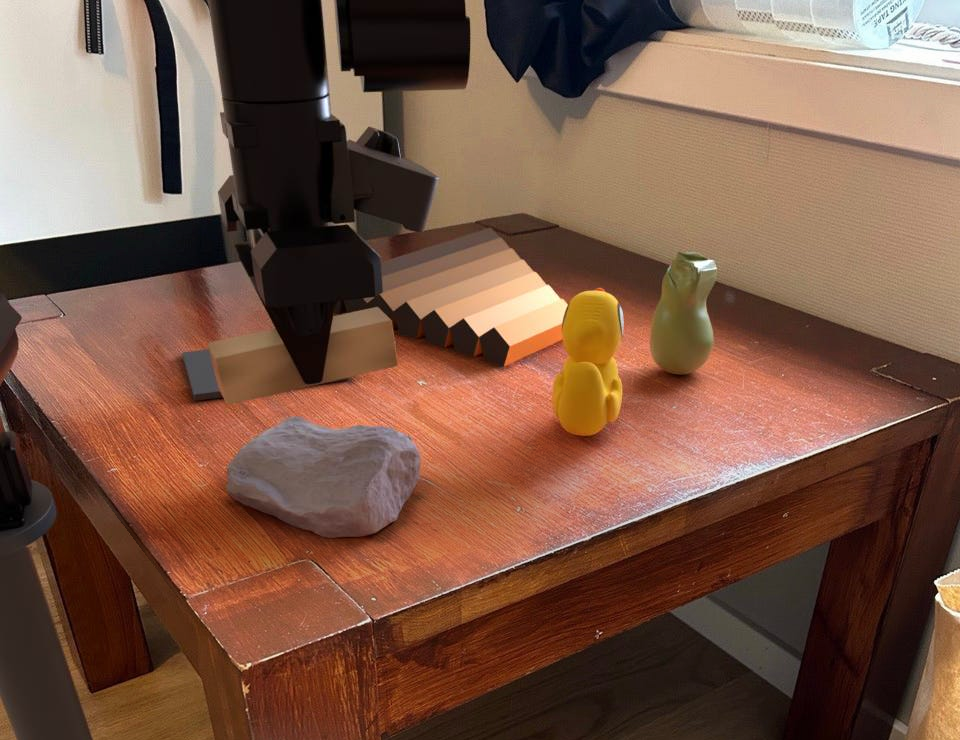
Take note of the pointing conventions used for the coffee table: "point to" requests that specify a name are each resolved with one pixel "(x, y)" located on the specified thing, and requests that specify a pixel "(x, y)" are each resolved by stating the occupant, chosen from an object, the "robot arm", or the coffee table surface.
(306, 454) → the stone block
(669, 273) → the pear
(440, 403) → the coffee table surface
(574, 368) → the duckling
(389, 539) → the coffee table surface
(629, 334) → the coffee table surface
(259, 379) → the maple bar
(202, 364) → the grey mat
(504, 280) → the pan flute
